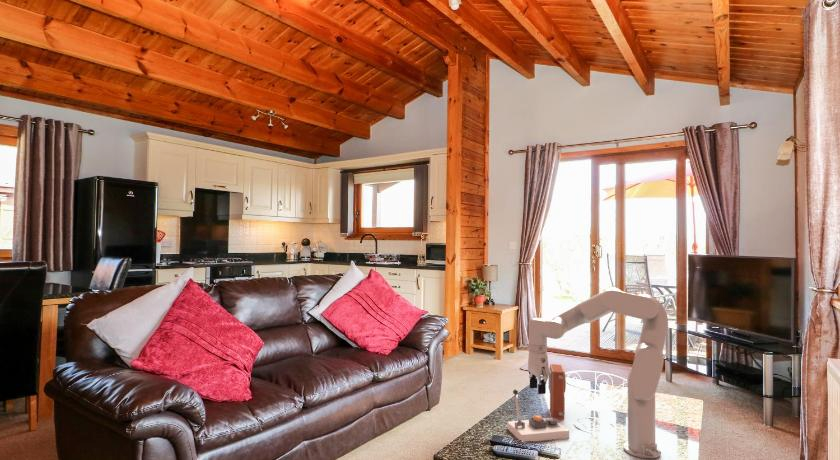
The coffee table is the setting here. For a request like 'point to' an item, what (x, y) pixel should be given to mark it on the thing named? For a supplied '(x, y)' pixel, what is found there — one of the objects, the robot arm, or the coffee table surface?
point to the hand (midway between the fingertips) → (537, 390)
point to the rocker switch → (552, 421)
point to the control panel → (557, 391)
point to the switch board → (537, 430)
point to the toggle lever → (517, 408)
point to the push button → (537, 418)
